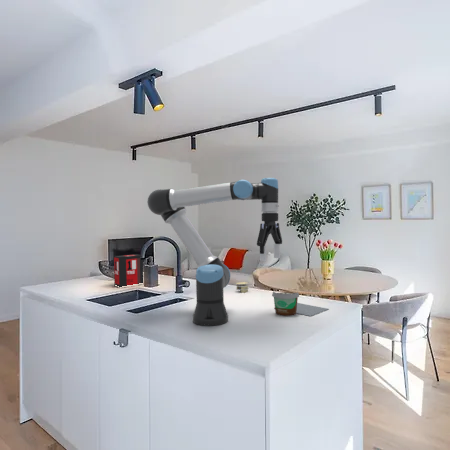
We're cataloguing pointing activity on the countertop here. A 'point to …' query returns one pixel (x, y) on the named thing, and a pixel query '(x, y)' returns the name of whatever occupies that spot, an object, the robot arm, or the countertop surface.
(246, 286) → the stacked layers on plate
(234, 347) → the countertop surface
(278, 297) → the food container
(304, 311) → the rubber mat
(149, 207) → the robot arm
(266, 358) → the countertop surface
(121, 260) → the cleaning product box
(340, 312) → the countertop surface
